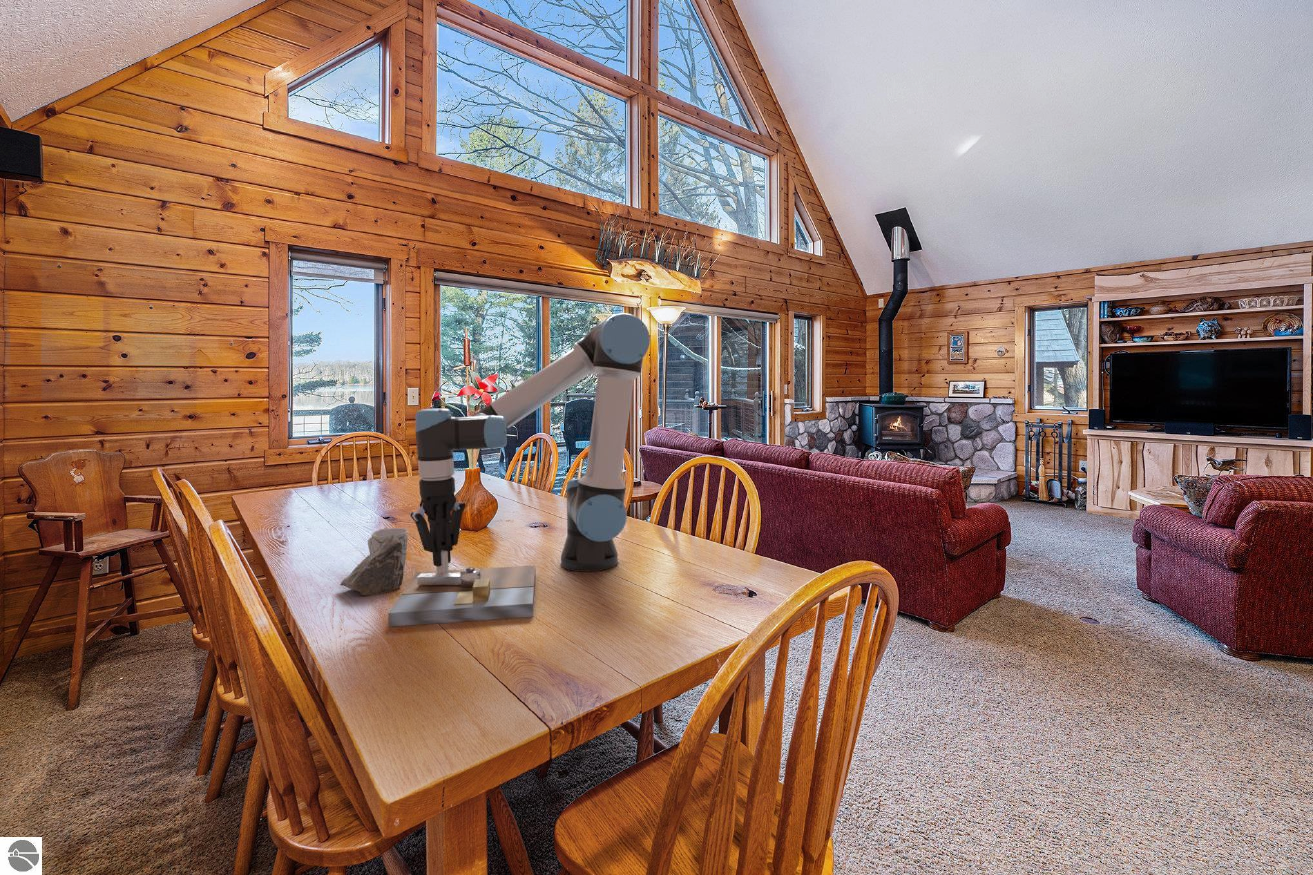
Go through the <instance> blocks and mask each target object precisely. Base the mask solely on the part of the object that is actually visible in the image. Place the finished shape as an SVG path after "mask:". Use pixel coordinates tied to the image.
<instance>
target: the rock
mask: <svg viewBox="0 0 1313 875" xmlns="http://www.w3.org/2000/svg"><path fill="white" fill-rule="evenodd" d="M401 548H402V543H401V542H400V541H399V540H398V539H397V537H395V536H394V535H393V534H392V535H390V536H389V537H387V538H386V539H385V540H384V541H383V543H382V545H381V546H380V547H379V548H378V549H377V550H376V551H375V552H374V553H372V554H370V553H369V555H367V556H366V557H365V558H363V559H362V561H361V562H360V563H359V564H357V566H356V567H354V569H353V570H352V572H351V573H350V574H349V575H347V576H346V577H345V578H343V580H341V583H340V584H339V586H343V587H346V588H347V589H349V590H353V591H357V592H359V593H360V594H361V595H363V596H369V595H370V596H376V595H380V594H384V593H388V592H391V591H395V590H398V589H400V587H401V586H402V584H403V579H404V569H403V565H402V563H401V557H402V551H401Z"/></svg>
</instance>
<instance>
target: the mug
mask: <svg viewBox="0 0 1313 875" xmlns="http://www.w3.org/2000/svg"><path fill="white" fill-rule="evenodd" d="M408 533H409V532H408V530H407V529H406V528H401V527H398V528H397V527H394V528H393V527H392V528H391V527H390V528H385V529H379V530H376V531H373V532H371V537H369V538H368V541H367V546H368V551H369V555H370V554H372V553H374V552H375V551H376V550H377V549H378V548H379V547H380V546H381V545H382V543H383V541H384V540H385V539H386V538H387V537H389V536H390V535H392V534H393V535H394V536H395V537H397V539H398V540H399V541H400V542H401V543H402V548H401V551H402V557H401V563H402V565H403V570H404V569H405V566H406V561H407V559H406V558H407V553H408V536H409V534H408Z"/></svg>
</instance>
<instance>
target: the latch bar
mask: <svg viewBox="0 0 1313 875" xmlns="http://www.w3.org/2000/svg"><path fill="white" fill-rule="evenodd" d="M480 569H481V568H475V567H473V566H472V567H467V568H465V569H464V570H462V569H461V570H462V571H461V572H460V573H421V574H420V575H419V576H418V577H417V585H461V586H464V587H472V586H473V585H474V582H475V579H481V570H480Z"/></svg>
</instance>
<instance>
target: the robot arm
mask: <svg viewBox="0 0 1313 875" xmlns="http://www.w3.org/2000/svg"><path fill="white" fill-rule="evenodd" d="M650 336H651V335H650V333H649V329H648V327H647V325H646V324H645V322H643V321H642V320H641V319H640V318H639V317H638V316H636V315H634V314H631V313H625V312H624V313H623V312H622V313H620V312H619V313H614V314H611V315H609V316H608V317H606V318H605V319H602V320H601V321H600V322H598V324H596V325H595V326H594V327H593V328H592V329H591V330H590V331H589V332H588V333H587V334H585V335H584V336H583V337H582V338H580V339H578V340H577V341H576V342H574V343H573V347H572V349H571V350H569V351H568V352H565V354H563V355H562V356H560V357H559V358H557V359H556V360H554V361H553V362H551V363H550V364H547V365H546V366H545V367H544V368H542V369H541V370H539V371H538V372H536V373H534V374H533V375H532V376H530V377H528V378H527V379H526V380H524V381H522V382H521V383H520V384H518V385H517V386H515V387H514V388H512V389H511V390H509V391H507V392H506V393H504V394H503V395H502V396H500V397H499V398H497V399H495V400H494V401H492V402H491V403H489V404H488V405H486V406H485V407H483V408H481V409H480V410H479V411H477V412H475V413H473V414H471V415H470V416H460V417H459V416H453V415H452V414H451V410H450V409H449V408H426V409H425V408H424V409H423V408H422V409H419V410H418V411H417V412H416V413H415V430H414V431H415V442H416V453H417V454H416V455H417V466H418V467H417V468H418V477H419V478H420V480H419V481H418V484H419V495H420V503H419V508H418V509H417V510H416V511H413V512H410V514H409V515H410V518H411V519H412V520H413V522H415V526H416V529H417V532H418V535H419V539H420V541H421V544H422V545H421V546H422V548H423V550H424V551H425V552H429V553H432V563H433V566H435V567H436V571H437V573H449V570H450V569H449V564H450V563H451V561H452V559H451V558H452V556H451V552H452V551H453V550H454V547H455V546H457V545H458V543H459V536H460V530H461V523H462V517H463V513H464V510H465V508H466V503H463V502H461V501H458V500H457V497H456V496H455V492H456V484H455V482H456V481H455V480H456V478H455V477H454V475H455V464H454V461H455V460H454V454H453V453H454V451H461V450H462V451H463V450H466V451H467V450H486V449H487V450H494V449H500V448H505V447H506V446H507V443H508V441H507V440H508V438H507V437H508V436H507V430H508V429H509V428H511V427H513V426H514V425H515V424H517V423H518V422H520V421H521V420H522V419H524V418H526V417H527V416H529V415H530V414H532V413H534V412H535V411H536V410H537V409H539V408H541V407H543V406H544V405H546V403H548V402H550V401H551V400H552V399H554V398H555V397H557V396H559V395H560V394H562V393H563V392H564V391H566V390H568V389H569V388H571V387H572V386H574V385H575V384H577V383H578V382H580V381H581V380H583V379H584V378H586V377H587V376H588V375H595V376H596V375H597V383H596V390H595V399H594V406H593V414H592V421H591V428H590V436H589V445H588V451H587V452H588V453H587V460H586V466H585V467H586V468H585V474H584V475H583V476H582V477H581V478H571V479H569V480H568V481H567V482H566V489H565V493H566V524H567V525H566V527H567V528H566V532H567V533H566V534H567V535H566V539H565V542H564V544H563V548H562V552H561V554H560V564H561V567H563V568H564V569H567V570H571V571H575V572H600V571H604V570H608V569H611V568H613V567H615V566H616V565H617V564H618V563H619V562H618V561H619V558H618V556H619V554H618V551H617V547H616V545H615V542H614V538H616V537H617V536H618V535H619V534H621V533H622V531H623V530H624V529H625V526H626V523H627V516H628V515H627V514H628V513H627V510H626V505H625V496H626V488H627V485H626V483H624V481H623V480H622V473H623V472H622V471H623V464H624V456H625V449H626V441H627V433H628V426H629V417H630V411H631V410H630V409H631V403H632V396H633V388H634V381H635V380H636V379H637V378H638V377H640V376H641V375H642V368H643V362H644V361H643V360H644V357H645V356H646V354H647V352H648V351H649V347H650V344H651V343H650V342H651V337H650ZM426 517H427V520H426Z"/></svg>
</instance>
